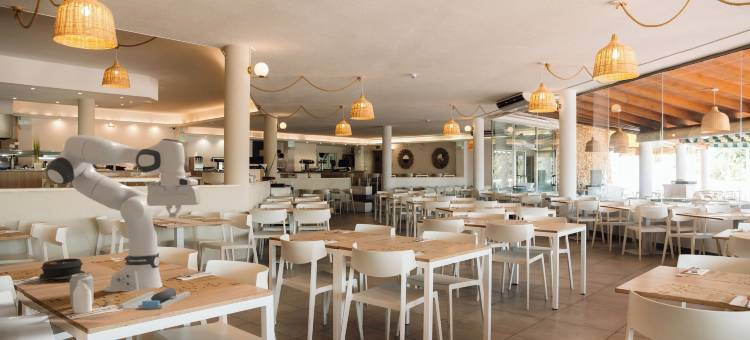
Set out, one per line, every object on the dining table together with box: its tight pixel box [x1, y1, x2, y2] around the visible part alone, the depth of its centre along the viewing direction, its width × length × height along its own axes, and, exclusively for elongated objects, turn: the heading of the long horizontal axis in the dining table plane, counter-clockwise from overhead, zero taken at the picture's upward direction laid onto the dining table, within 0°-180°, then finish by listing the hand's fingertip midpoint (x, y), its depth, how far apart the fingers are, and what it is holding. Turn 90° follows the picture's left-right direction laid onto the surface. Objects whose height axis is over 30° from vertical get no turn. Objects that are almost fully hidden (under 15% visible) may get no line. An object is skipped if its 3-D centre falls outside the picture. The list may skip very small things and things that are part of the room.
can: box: [69, 272, 95, 309], centre depth 188 cm, size 8×8×12 cm
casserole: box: [38, 258, 86, 282], centre depth 243 cm, size 25×19×8 cm
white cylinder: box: [72, 280, 93, 314], centre depth 178 cm, size 6×12×6 cm
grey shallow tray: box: [118, 290, 191, 310], centre depth 190 cm, size 16×20×3 cm
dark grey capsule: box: [151, 287, 177, 304], centre depth 188 cm, size 10×4×4 cm, turn 173°
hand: (174, 217), depth 196 cm, fingers closed
